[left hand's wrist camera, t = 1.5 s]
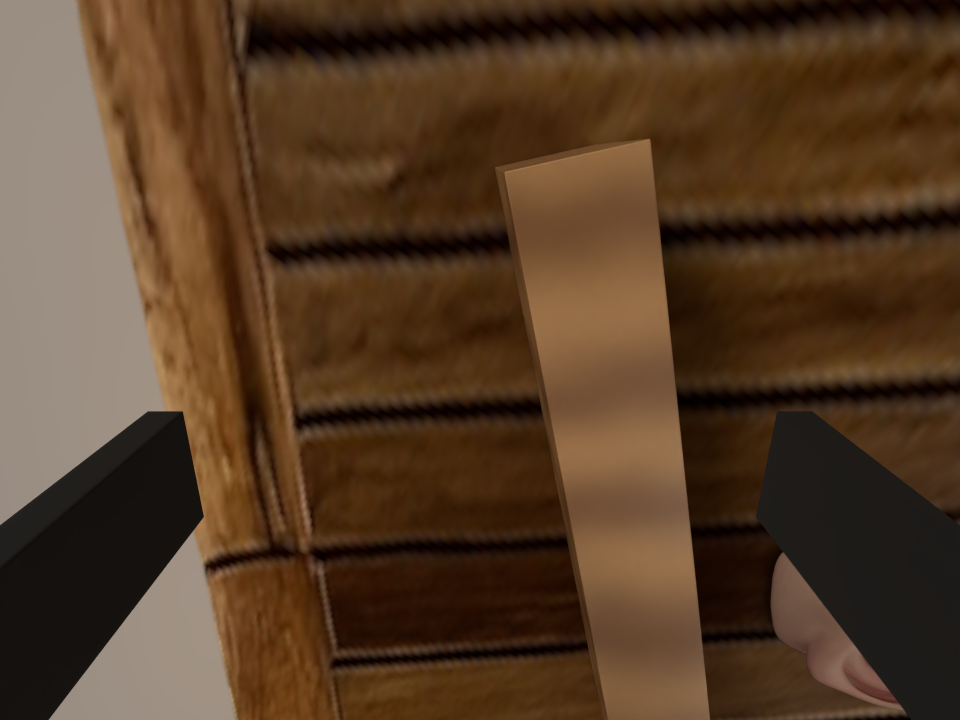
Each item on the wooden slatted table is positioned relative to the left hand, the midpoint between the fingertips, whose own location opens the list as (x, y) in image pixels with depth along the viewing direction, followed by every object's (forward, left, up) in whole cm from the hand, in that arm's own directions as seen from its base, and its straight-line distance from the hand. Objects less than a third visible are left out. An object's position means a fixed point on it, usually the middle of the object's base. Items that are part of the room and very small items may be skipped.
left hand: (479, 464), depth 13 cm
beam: (-7, +25, -16) cm, 30 cm away
